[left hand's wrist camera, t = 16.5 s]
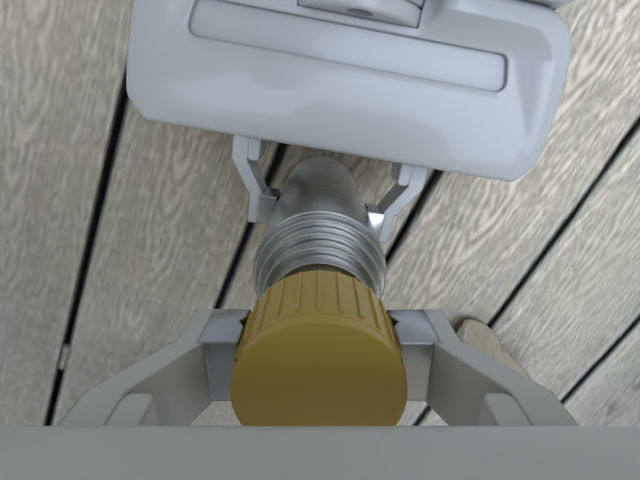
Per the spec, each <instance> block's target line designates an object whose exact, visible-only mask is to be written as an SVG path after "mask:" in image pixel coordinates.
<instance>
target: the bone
mask: <svg viewBox="0 0 640 480" xmlns="http://www.w3.org/2000/svg"><path fill="white" fill-rule="evenodd" d="M456 335H457V337H458V338H459V340H460V342H461V343H468V344H469V345H471V346H473V347H475V348H476V349H478V350H480V351H482V352H483V353H485V354H487V355H489V356H490V357H492V358H494V359H496V360H497V361H499V362H501V363H502V364H504V365H506V366H508V367H509V368H511V369H513V370H515V371H516V372H518V373H520V374H522V375H523V376H525V377H527V378H529V379H530V380H532V379H531V377H530V376H529V374H528V373H527V372H526V370H525V369H524V368H523V367H522V366H521V365H520V364H519V363H517V362H516V361H515V360H514V359H513V358H512V357H511V356H510V355H509V353H508V352H507V350H506V349H505V348H504V346H503V345H502V344H501V343H500V341H499V339H498V338H497V336H496V334H495V333H494V332H493V331H492V330H491V329H490V328H489V327H488V326H487V325H485V324H484V323H481V322H479V321H476V320H471V319H467V320H465V321H463V324H462V326H461V327H460V328H459V330H458V332H457V334H456Z"/></svg>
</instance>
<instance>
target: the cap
mask: <svg viewBox="0 0 640 480" xmlns="http://www.w3.org/2000/svg"><path fill="white" fill-rule="evenodd" d="M235 358H236V359H237V361H236V362H235V363H234V367H233V370H232V378H231V382H230V396H231V402H232V406H233V410H234V412H235V414H236V416H237V418H238V420H239V421H240V423H241V424H242V426H396V424H397V423H398V421H399V420H400V418H401V416H402V414H403V411H404V409H405V405H406V402H407V395H408V385H407V379H406V370H405V367H404V364H403V363H402V361H401V359H403V355H402V352H401V349H400V346H399V344H398V341H397V338H396V335H395V332H394V327H393V324H392V321H391V320H390V316H389V313H386V311H385V308H384V304H383V301H382V299H380V300H379V298H378V297H377V296H376V295H375V293H374V292H373V291H372V289H371V288H370V287H367V286H366V285H364V284H363V283H361V282H360V281H358V280H357V279H356V278H352V277H349V276H347V275H344V274H341V273H339V272H331V271H321V270H318V271H317V270H316V271H306V272H299V273H297V274H294V275H291V276H289V277H286V278H285V277H284V278H282V280H280V281H278V282H277V283H275V284H274V285H273V286H271V287H268V288H267V291H266V292H264V294H263V295H262V296H261V297H260V298H259V299H258V298H257V300H256V302H255V305H254V308H253V311H252V313H251V312H250V313H249V316H248V319H247V322H246V325H245V328H244V331H243V334H242V337H241V340H240V343H239V346H238V349H237V352H236V355H235Z"/></svg>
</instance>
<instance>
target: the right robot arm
mask: <svg viewBox="0 0 640 480" xmlns="http://www.w3.org/2000/svg"><path fill="white" fill-rule="evenodd" d="M572 1H573V0H134V1H133V8H132V15H131V22H130V31H129V41H128V54H127V75H126V88H127V94H128V96H129V98H130V100H131V101H132V103H133V104H134V106H135V107H136V109H137V110H138V112H139V113H140V114H141V116H142V117H143V118H145V119H147V120H151V121H156V122H162V123H168V124H174V125H180V126H186V127H191V128H197V129H203V130H209V131H215V132H221V133H226V134H232V135H233V145H232V159H233V161H234V164H235V166H236V168H237V170H238V172H239V174H240V176H241V178H242V180H243V183H244V185H245V187H246V189H247V191H248V192H250V199H249V210H248V222H253V223H261V224H268V223H269V221H270V218H271V216H272V213H273V211H274V209H275V206H276V204H277V202H278V199H279V197H280V189H275V188H270V187H267V185H266V183H265V181H264V178H263V176H262V173H261V171H260V168H259V166H258V163H257V160H258V159H259V158H260V157H261V156H262V155H264V153H265V145H266V140H267V141H273V142H279V143H285V144H291V145H297V146H303V147H308V148H314V149H320V150H326V151H332V152H338V153H343V154H349V155H355V156H361V157H367V158H373V159H379V160H384V161H390V162H393V166H392V171H391V176H392V178H393V179H394V180H395V181H396V182H397V183H396V184H395V185H394V186H393V187H392V189H391V190H390V191H389V192H388V193H387V194H386V195H385V197H384V198H383V199H382V200H381V201H380V202H379V204H378V205H374V204H367V203H364V205H365V208H366V210H367V213H368V215H369V218H370V220H371V223H372V225H373V228H374V230H375V233H376V235H377V237H378V240H379V242H380V243H386V242H387V240H388V238H389V234H390V230H391V226H392V222H393V218H394V216H397V215H398V214H399V213H400V212H401V211H402V210H403V209H404V208H405V207H406V206H407V205H408V204H409V203H410V202H411V201H412V199H413V198H414V197H415V196H416V195H417V194H418V193H419V192H420V191H421V190H422V189H423V185H424V182H425V178H426V175H427V171H428V168H431V169H437V170H443V171H449V172H455V173H460V174H466V175H472V176H478V177H484V178H490V179H496V180H502V181H508V182H512V181H515V180H517V179H518V178H519V177H521V176H522V175H523V174H525V173H526V172H527V171H528V170H530V169H531V168H532V167H533V166H534V165H535V164H536V163H537V161H538V159H539V157H540V155H541V153H542V150H543V148H544V146H545V143H546V140H547V137H548V135H549V132H550V129H551V126H552V123H553V120H554V117H555V114H556V111H557V108H558V104H559V101H560V98H561V94H562V91H563V87H564V83H565V79H566V75H567V71H568V67H569V62H570V54H571V38H570V33H569V29H568V26H567V24H566V22H565V21H564V19H563V18H562V17H561V16H560V15H559V14H558V13H557V12H556V11H554V10H556V9H558V8H560V7H562V6H564V5H566V4H568V3H570V2H572Z"/></svg>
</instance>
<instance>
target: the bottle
mask: <svg viewBox="0 0 640 480" xmlns="http://www.w3.org/2000/svg"><path fill="white" fill-rule="evenodd" d="M316 270H317V271H318V270H321V271H331V272H339V273H341V274H344V275H347V276H349V277H352V278H356V279H357V280H358V281H360V282H361V283H363V284H364V285H366V286H367V287H370V288H371V289H372V291H373V292H374V293H375V295H376V296H377V297H378V298H379V300H380V299H381V298H382V296H383V292H384V289H385V282H386V261H385V256H384V253H383V250H382V247H381V245H380V242H379V240H378V237H377V235H376V233H375V230H374V228H373V225H372V223H371V220H370V218H369V215H368V213H367V210H366V208H365V205H364V203H363V201H362V198H361V196H360V193H359V191H358V188H357V186H356V183H355V181H354V178H353V176H352V174H351V172H350V171H349V170H348V168H347V167H346V166H345V165H344V164H342V163H341V162H340V161H338V160H336V159H334V158H331V157H327V156H314V157H310V158H307V159H305V160H303V161H301V162H300V163H298V164H297V165H296V166H295V167H294V168H293V169H292V171H291V172H290V174H289V176H288V178H287V180H286V183H285V185H284V187H283V190H282V192H281V194H280V197H279V199H278V202H277V204H276V206H275V209H274V211H273V213H272V216H271V218H270V221H269V223H268V225H267V228H266V230H265V232H264V235H263V237H262V240H261V242H260V244H259V247H258V249H257V251H256V255H255V259H254V266H253V272H254V286H255V291H256V294H257V297H258V299H259V298H260V297H261V296H262V295H263V294H264V292H266V291H267V288H268V287H271V286H273V285H274V284H275V283H277V282H278V281H280V280H282V278H284V277H285V278H286V277H289V276H291V275H294V274H297V273H299V272H306V271H316Z"/></svg>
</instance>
